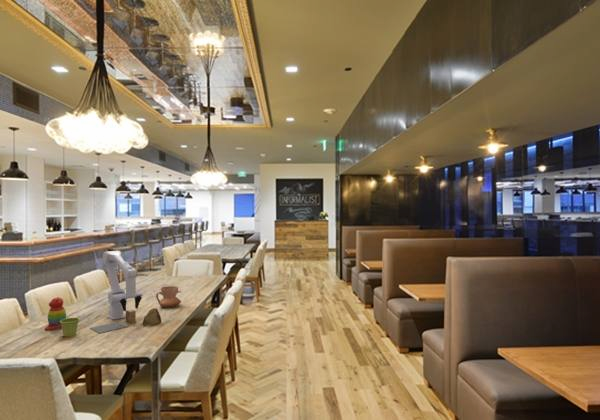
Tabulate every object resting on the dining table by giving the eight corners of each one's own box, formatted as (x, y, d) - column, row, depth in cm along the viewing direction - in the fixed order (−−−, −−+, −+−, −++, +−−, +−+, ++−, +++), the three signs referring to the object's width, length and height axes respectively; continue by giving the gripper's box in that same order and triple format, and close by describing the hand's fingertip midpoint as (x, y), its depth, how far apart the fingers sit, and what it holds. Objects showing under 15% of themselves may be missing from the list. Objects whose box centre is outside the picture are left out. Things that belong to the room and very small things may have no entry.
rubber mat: (89, 328, 220) (89, 327, 220) (117, 322, 233) (117, 321, 233) (99, 333, 211) (99, 332, 211) (127, 326, 224) (127, 326, 224)
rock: (137, 322, 225) (153, 320, 224) (141, 309, 230) (156, 307, 229) (146, 328, 233) (161, 327, 232) (149, 315, 239) (164, 314, 238)
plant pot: (75, 331, 215) (75, 316, 215) (82, 334, 209) (82, 319, 209) (57, 335, 208) (57, 320, 208) (63, 339, 202) (63, 323, 202)
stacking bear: (48, 325, 226) (49, 296, 226) (68, 323, 229) (68, 295, 229) (43, 331, 216) (43, 300, 216) (63, 329, 219) (63, 299, 219)
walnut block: (125, 321, 235) (125, 310, 235) (131, 320, 237) (131, 309, 237) (130, 323, 231) (130, 312, 231) (135, 322, 233) (135, 310, 233)
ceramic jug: (183, 303, 280) (183, 284, 280) (179, 308, 266) (179, 288, 266) (158, 304, 278) (158, 285, 278) (153, 309, 263) (153, 289, 264)
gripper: (122, 290, 226) (121, 313, 226) (144, 287, 237) (144, 308, 237) (116, 289, 230) (116, 311, 230) (139, 285, 242) (139, 306, 241)
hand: (130, 309), depth 234 cm, fingers open, 7 cm apart
